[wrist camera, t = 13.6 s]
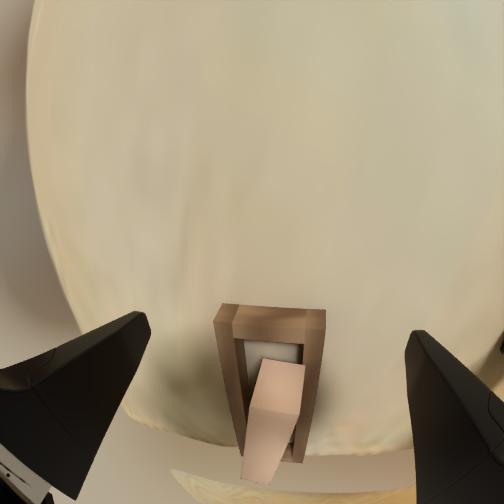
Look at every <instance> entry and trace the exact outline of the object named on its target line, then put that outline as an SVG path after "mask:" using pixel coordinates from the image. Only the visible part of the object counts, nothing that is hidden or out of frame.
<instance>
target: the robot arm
mask: <svg viewBox="0 0 504 504" xmlns="http://www.w3.org/2000/svg"><path fill="white" fill-rule="evenodd" d="M150 336H151V329H150V326H149V323H148V320H147V317H146V314H145V313H143V312H139V311H133V312H131V313H129V314H127V315H124V316H122V317H120V318H118V319H116V320H114V321H112V322H110V323H107V324H105V325H103V326H101V327H99V328H97V329H95V330H92V331H90V332H88V333H86V334H84V335H82V336H80V337H77V338H75V339H73V340H71V341H69V342H67V343H64V344H62V345H60V346H58V347H57V348H54V349H51V350H49V351H47V352H45V353H43V354H40V355H38V356H35V357H33V358H31V359H28V360H26V361H23V362H20V363H17V364H15V365H12V366H9V367H6V368H3V369H0V504H54V501H53V497H52V494H50V493H49V492H48V491H49V490H50V488H51V486H53V487H55V488H56V489H58V490H59V491H61V492H62V493H64V494H65V495H67V496H68V497H70V498H72V499H73V500H76V499H77V497H78V495H79V493H80V490H81V488H82V486H83V483H84V481H85V479H86V476H87V474H88V472H89V469H90V467H91V465H92V463H93V460H94V457H95V456H96V454H97V451H98V449H99V447H100V445H101V443H102V440H103V438H104V436H105V434H106V432H107V430H108V428H109V426H110V424H111V421H112V419H113V417H114V415H115V413H116V411H117V409H118V407H119V405H120V403H121V401H122V399H123V397H124V395H125V393H126V391H127V389H128V387H129V385H130V383H131V381H132V379H133V377H134V375H135V373H136V371H137V369H138V367H139V364H140V362H141V359H142V357H143V354H144V351H145V349H146V346H147V344H148V341H149V339H150ZM500 351H501V353H502V354H504V343H503V345H502V347H501V349H500ZM405 366H406V381H407V397H408V404H409V411H410V418H411V426H412V434H413V443H414V453H415V469H416V495H417V504H504V402H503V401H502V400H501V399H500V398H499V397H497V396H496V395H495V394H494V393H493V392H492V391H490V389H489V388H488V387H487V386H486V385H485V384H484V383H483V382H482V381H481V380H480V379H479V378H477V377H476V376H475V375H474V374H473V373H472V372H471V371H470V370H469V369H468V368H467V367H466V366H464V365H463V364H462V363H461V362H460V361H459V360H458V359H457V358H456V357H454V356H453V355H452V354H451V353H450V352H449V351H448V350H447V349H445V348H444V347H443V346H442V345H441V344H440V343H439V342H438V341H436V340H435V339H434V338H433V337H432V336H431V335H429V334H428V333H427V332H426V331H425V330H413V331H412V332H411V334H410V337H409V340H408V343H407V346H406V349H405Z"/></svg>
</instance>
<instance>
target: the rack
mask: <svg viewBox="0 0 504 504" xmlns="http://www.w3.org/2000/svg"><path fill="white" fill-rule="evenodd" d="M213 323H214V329H215V335H216V340H217V346H218V351H219V357H220V362H221V367H222V372H223V377H224V382H225V387H226V392H227V396H228V401H229V406H230V410H231V415H232V419H233V424H234V428H235V433H236V437H237V441H238V445H239V449H240V453H241V456H244V448H245V440H246V432H247V423H248V415H249V407H250V394H249V385H248V376H247V368H246V358H245V349H244V340H243V339H248V340H259V341H270V342H283V343H298V344H304V352H303V365H305V373H304V382H303V390H302V398H301V406H300V414H299V417H298V420H297V425H296V433H295V441H294V444H292V443H288V444H287V447H286V449H285V451H284V454H283V456H282V458H281V460H280V461H282V462H293V463H303V459H304V455H305V450H306V446H307V441H308V436H309V431H310V426H311V421H312V416H313V411H314V405H315V399H316V394H317V388H318V381H319V375H320V368H321V361H322V354H323V347H324V339H325V331H326V310H316V309H295V308H278V307H262V306H248V305H236V304H224V303H223V304H222V305H221V307H220V309H219V311H218V313H217V315H216V317H215V319H214V321H213Z"/></svg>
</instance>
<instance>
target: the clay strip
mask: <svg viewBox="0 0 504 504" xmlns="http://www.w3.org/2000/svg"><path fill="white" fill-rule="evenodd" d="M304 373H305V365H300V364H293V363H287V362H281V361H275V360H269V359H264V358H263V360H262V364H261V368H260V371H259V375H258V378H257V382H256V386H255V389H254V393H253V396H252V400H251V403H250V407H249V415H248V423H247V432H246V440H245V448H244V456H243V464H242V471H241V479H242V480H247V481H252V482H257V483H263V484H270V482H271V480H272V478H273V476H274V474H275V472H276V469H277V467H278V465H279V463H280V460H281V458H282V456H283V454H284V451H285V449H286V447H287V444H288V442H289V440H290V437H291V435H292V432H293V430H294V427H295V425H296V422H297V420H298V417H299V414H300V406H301V398H302V390H303V382H304Z"/></svg>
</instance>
